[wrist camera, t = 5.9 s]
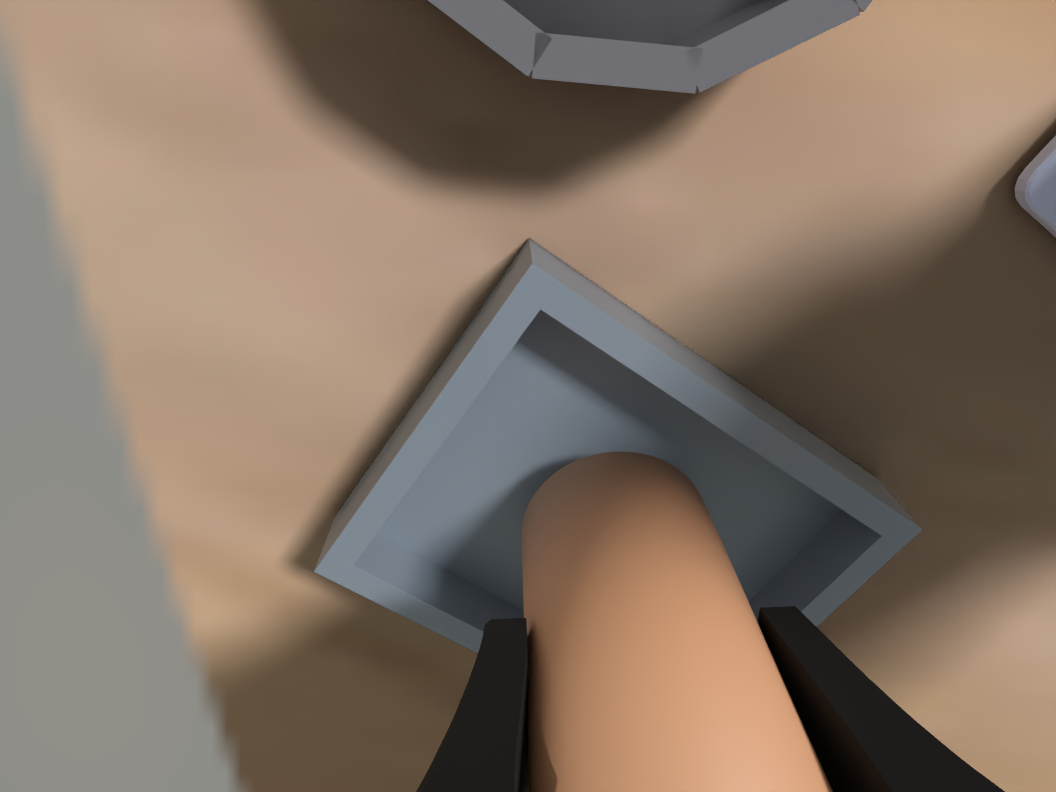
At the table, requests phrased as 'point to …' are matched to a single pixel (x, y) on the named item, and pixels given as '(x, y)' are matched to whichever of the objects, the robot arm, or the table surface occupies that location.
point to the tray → (583, 430)
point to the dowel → (647, 644)
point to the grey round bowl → (645, 36)
